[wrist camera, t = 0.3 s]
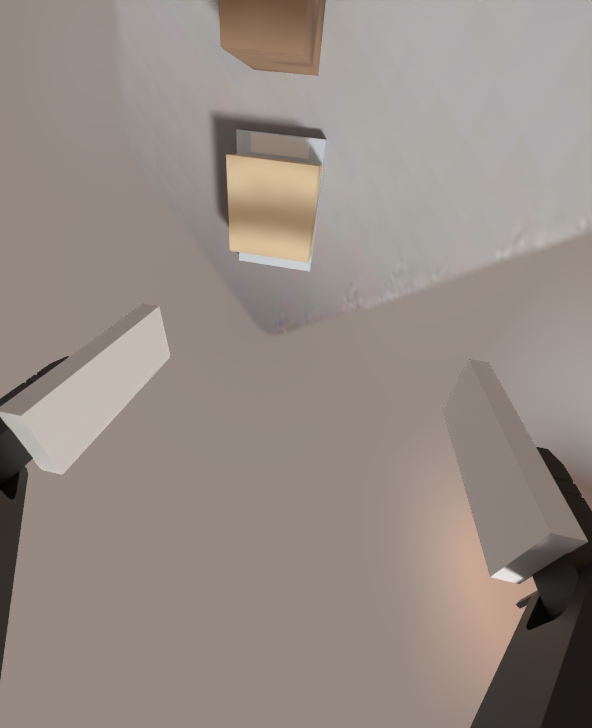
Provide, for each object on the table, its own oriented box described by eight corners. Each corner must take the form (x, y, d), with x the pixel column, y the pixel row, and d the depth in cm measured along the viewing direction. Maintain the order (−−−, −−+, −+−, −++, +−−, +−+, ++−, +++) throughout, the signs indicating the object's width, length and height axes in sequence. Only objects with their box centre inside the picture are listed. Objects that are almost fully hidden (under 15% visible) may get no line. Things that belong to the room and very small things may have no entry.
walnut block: (254, -35, 24) (214, -100, 17) (328, -30, 23) (314, -95, 17) (254, 69, 27) (220, 47, 21) (318, 75, 27) (303, 54, 21)
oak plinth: (236, 153, 31) (226, 154, 28) (322, 164, 30) (318, 166, 27) (238, 243, 36) (230, 250, 34) (311, 255, 35) (307, 262, 33)
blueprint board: (239, 129, 30) (235, 129, 29) (326, 139, 29) (325, 139, 29) (241, 257, 38) (239, 260, 37) (310, 268, 37) (309, 271, 36)
